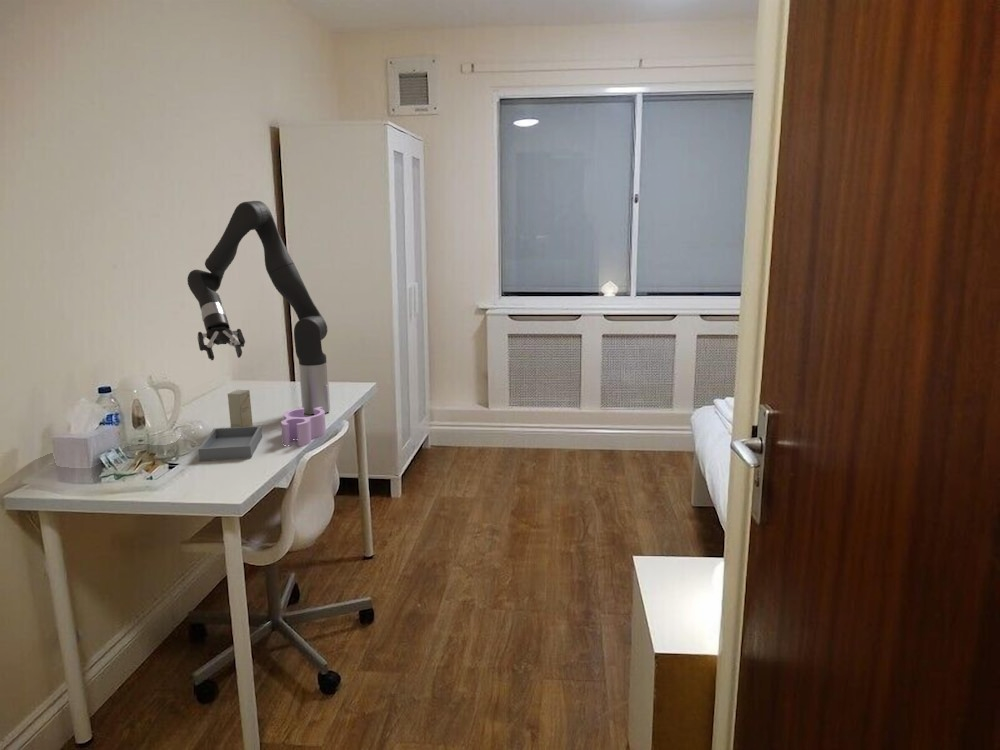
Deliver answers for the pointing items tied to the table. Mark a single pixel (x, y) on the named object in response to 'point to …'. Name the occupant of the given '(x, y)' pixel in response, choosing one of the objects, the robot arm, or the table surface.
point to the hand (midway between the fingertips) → (226, 357)
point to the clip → (302, 426)
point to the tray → (230, 443)
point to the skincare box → (240, 408)
